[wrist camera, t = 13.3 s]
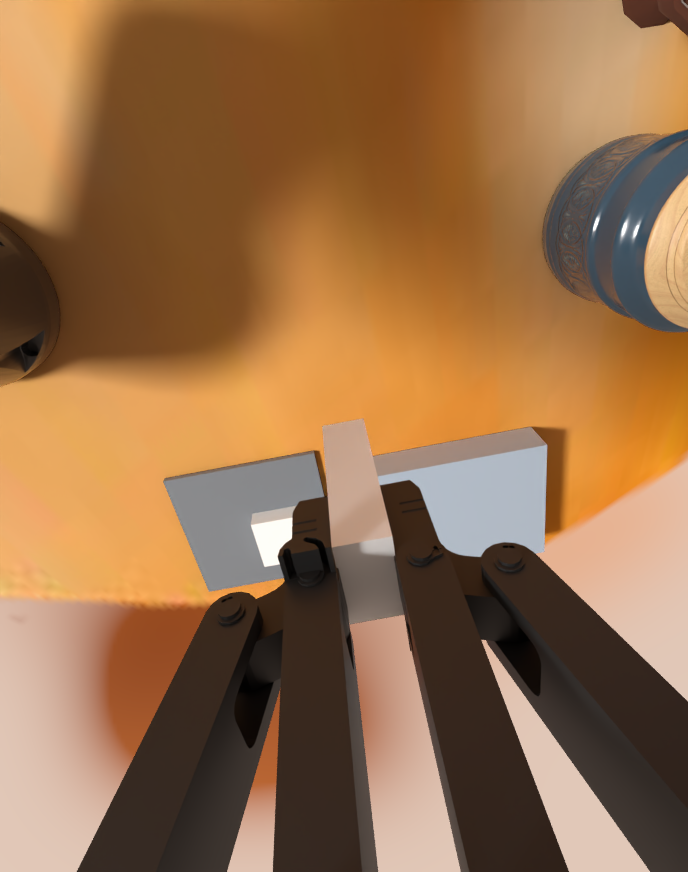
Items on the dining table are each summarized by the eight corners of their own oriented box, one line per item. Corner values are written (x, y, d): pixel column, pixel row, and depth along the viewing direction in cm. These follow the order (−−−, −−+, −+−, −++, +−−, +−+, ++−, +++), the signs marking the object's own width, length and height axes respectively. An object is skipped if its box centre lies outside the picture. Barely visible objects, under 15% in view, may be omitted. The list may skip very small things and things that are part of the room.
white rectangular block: (265, 554, 57) (264, 567, 55) (252, 513, 54) (250, 525, 52) (342, 541, 57) (343, 552, 55) (333, 499, 54) (334, 510, 52)
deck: (348, 562, 59) (351, 587, 56) (326, 464, 53) (328, 485, 49) (529, 529, 59) (544, 551, 55) (530, 426, 52) (547, 444, 49)
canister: (534, 306, 46) (651, 373, 31) (542, 148, 40) (693, 131, 25) (671, 286, 46) (857, 342, 31) (700, 124, 40) (950, 92, 25)
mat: (210, 587, 60) (209, 591, 59) (164, 478, 52) (163, 481, 51) (340, 564, 59) (340, 567, 59) (313, 450, 52) (313, 453, 51)
